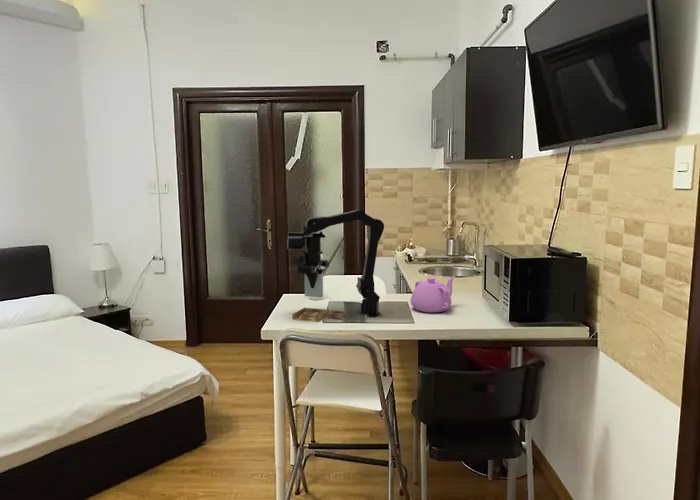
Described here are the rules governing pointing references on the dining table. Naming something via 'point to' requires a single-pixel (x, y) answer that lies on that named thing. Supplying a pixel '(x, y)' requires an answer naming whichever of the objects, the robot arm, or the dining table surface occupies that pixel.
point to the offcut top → (310, 314)
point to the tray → (322, 312)
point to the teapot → (432, 295)
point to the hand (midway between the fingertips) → (313, 287)
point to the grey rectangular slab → (317, 289)
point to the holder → (337, 315)
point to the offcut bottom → (307, 318)
